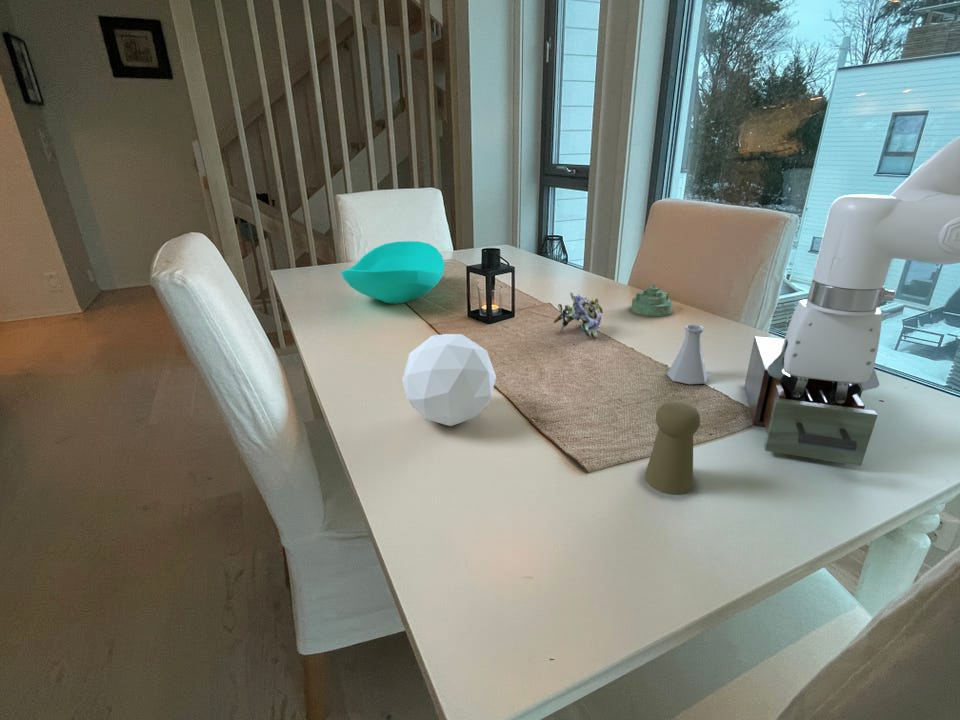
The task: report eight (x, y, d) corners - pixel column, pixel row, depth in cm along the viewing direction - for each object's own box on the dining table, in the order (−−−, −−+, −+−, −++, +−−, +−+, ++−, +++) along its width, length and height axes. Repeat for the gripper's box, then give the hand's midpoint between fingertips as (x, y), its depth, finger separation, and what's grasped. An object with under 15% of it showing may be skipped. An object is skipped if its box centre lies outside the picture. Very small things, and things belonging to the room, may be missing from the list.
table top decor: (432, 323, 128) (429, 270, 122) (325, 322, 130) (318, 271, 125) (454, 282, 164) (452, 240, 159) (370, 282, 167) (365, 241, 161)
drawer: (871, 486, 64) (889, 432, 61) (769, 468, 68) (781, 417, 65) (836, 417, 79) (849, 372, 76) (754, 406, 83) (764, 362, 80)
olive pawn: (696, 474, 68) (709, 401, 64) (688, 500, 64) (701, 423, 59) (650, 461, 71) (660, 391, 67) (639, 485, 67) (648, 411, 62)
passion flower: (591, 358, 119) (598, 329, 108) (546, 345, 121) (549, 316, 111) (602, 320, 124) (611, 289, 113) (559, 309, 126) (563, 277, 116)
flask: (668, 384, 93) (675, 332, 90) (664, 368, 100) (671, 319, 96) (710, 387, 92) (719, 335, 88) (704, 370, 98) (712, 321, 94)
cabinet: (847, 439, 75) (865, 380, 72) (752, 425, 80) (764, 369, 76) (825, 396, 88) (839, 344, 84) (744, 386, 92) (754, 336, 88)
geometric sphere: (442, 433, 89) (439, 350, 93) (515, 424, 81) (510, 334, 85) (383, 428, 78) (383, 333, 81) (461, 416, 70) (458, 312, 73)
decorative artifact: (630, 314, 130) (671, 317, 127) (633, 288, 127) (675, 290, 124) (632, 303, 139) (671, 306, 136) (634, 278, 136) (674, 280, 133)
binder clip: (824, 432, 70) (832, 404, 68) (799, 429, 71) (807, 401, 69) (816, 415, 75) (824, 388, 73) (793, 412, 76) (800, 385, 74)
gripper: (909, 293, 66) (869, 418, 73) (767, 284, 71) (743, 400, 79) (933, 311, 59) (886, 445, 67) (775, 299, 65) (747, 424, 72)
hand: (809, 420), depth 73 cm, fingers closed on binder clip, 3 cm apart
